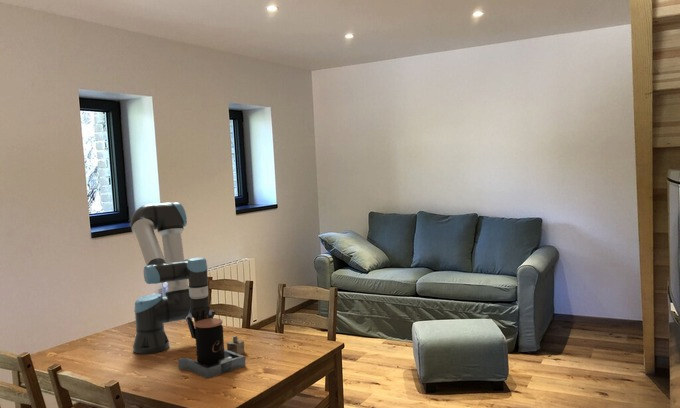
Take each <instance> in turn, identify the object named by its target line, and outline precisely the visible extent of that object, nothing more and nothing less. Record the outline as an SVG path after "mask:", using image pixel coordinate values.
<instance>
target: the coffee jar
mask: <svg viewBox="0 0 680 408" xmlns="http://www.w3.org/2000/svg"><path fill="white" fill-rule="evenodd" d="M195 326H196V329H195V334H196V339H195V346H196V347H195V348H196V361H197V362H199V363H201V364H204V365H206V366H211V365H214V364H218V363H219V360H220V359H223V358H225V355H224V349H225V342H224V341H225V340H224V339H225V338H224V326H223V319H221V318H217V317H216V318H215V317H213V318H209V319H203V320H199V321H197V322H194V327H195Z"/></svg>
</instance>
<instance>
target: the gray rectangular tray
mask: <svg viewBox="0 0 680 408" xmlns="http://www.w3.org/2000/svg"><path fill="white" fill-rule="evenodd" d="M224 355H225V358H223V359H220V360H219V363H218V364H214V365H211V366H206V365H204V364H201V363H199V362H197V360H195V359H191V358H188V357H187V358H185V357H182V358H181V357H180V358H178V360H177V361H178V370H183V371H189V372H191V373H193V374H196V375H198V376H201V377H203V378H204V379H206V380H209V379H212V378H214V377H218V376H220V375H224V374H227V373H230V372H232V371H235V370H239V369H241V368H244V367H246V356H245V355H243V354H241V355H240V354H237V353H234V352H232V351H229V350H227V348H226V349H225V348H224Z"/></svg>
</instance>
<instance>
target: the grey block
mask: <svg viewBox="0 0 680 408" xmlns="http://www.w3.org/2000/svg"><path fill="white" fill-rule="evenodd" d="M226 347H227V348H226V350H229V351H232V352H234V353H237V354H240V355H243V354H244V353H245V341H244V340H239V339H238V335H233V336H232V340H231V341H228V342H226Z"/></svg>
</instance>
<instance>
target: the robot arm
mask: <svg viewBox="0 0 680 408" xmlns="http://www.w3.org/2000/svg"><path fill="white" fill-rule="evenodd" d="M187 220H188V219H187V213H186V210H185V207H184V206H183V205H182V204H181V203H180V202H171V201H170V202H162V203H147V204H144V205H141V206H140V207H139V208H137V209H136V210H135V212H134V213H133V214H132V216H131V218H130V228H131V232H132V234H133V235H134V236H136V239H137V242H138V245H139V248H140V250H141V251H140V252H141V254H142V257H143V259H144V262H145V266H144V267H143V277H144V278H143V279H144V282H145V284H148V285H150V284H151V285H153V284H155V285H157V284H160V283H167V288H166V290H165V293H164V294H165V296H163V295H162V294H161V293H152V294H147V295H144V296H141V297H139V298H138V299H136V300H135V301H134V316H135V317H134V318H135V330H136V333H135V336H134V341H133V345H132V351H133V353H135V354H138V355H139V354H140V355H148V354H155V353H160V352H163V351H165V350H167V349H169V348H170V340H169V338H168V336H167V334H166V331H165V324H166V323H172V322H173V323H174V322H179V321H186V323H187V326H188V329H189V332H190V335H191V338H192V339H195V340H196V334H195V329H196V326H195V322H197V321H199V320H203V319H209V318H215V317H214V316H215V314H216V311H215V310H212V309H211V307H210V297H209V283H208V282H209V279H208V263H207V259H206V258H205V257H193V258H189V259H185V256H184V255H185V254H184V248H183V239H182V233H183V231H184V230H185V229H184V227H186V226H187V225H188V224H187V222H188V221H187ZM155 230H156V231H157V234H158V235H160V236H161V243H162V249H161V247H160V244H159V241H158V238H157V235H156V232H155Z"/></svg>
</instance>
